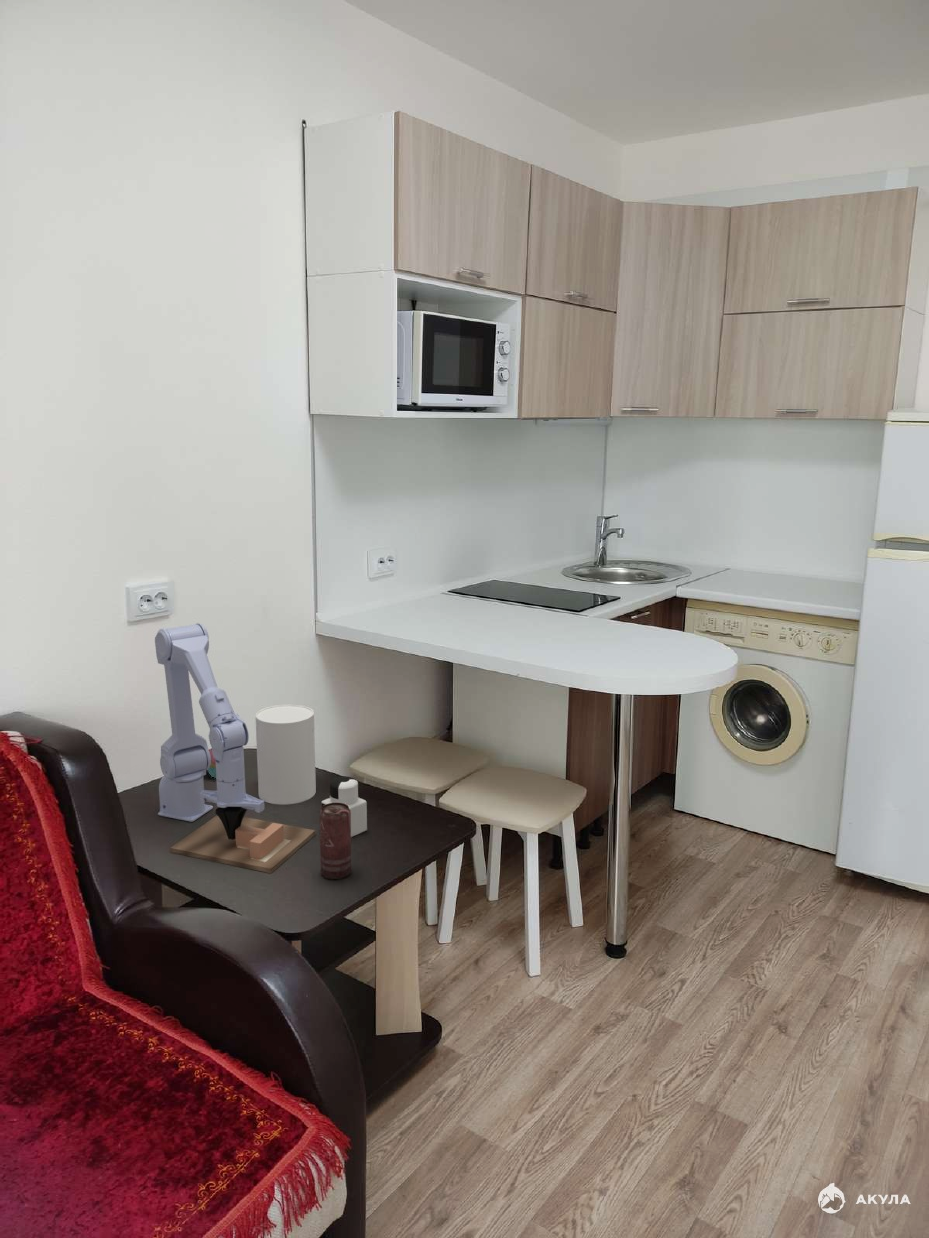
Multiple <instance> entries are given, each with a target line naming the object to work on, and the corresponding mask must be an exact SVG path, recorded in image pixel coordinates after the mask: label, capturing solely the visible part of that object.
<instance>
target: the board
mask: <svg viewBox="0 0 929 1238" xmlns="http://www.w3.org/2000/svg"><path fill="white" fill-rule="evenodd" d="M272 823H276V824H280V823H278V822H274V821H273V822H272V821H269V820H268V821H267V820H262V819H257V818H252V817H246V816H244V817H243V820H242V823H241V825H245V826H250V827H255V828H260V829H266V828H267V827H268V826H270V825H271V824H272ZM281 824H282V825H283V829H284V840H283V841H282V842H281V843H280V844H279V845H277V846H276V847H275V848H274V849H273V850H271V851H270V852H269V853H268V854H267V855H265V856H264V857H263V858H262V859H257V858H252V857H250V848H246V847H241V846H236V838H235V839H234V840H231V839H228V836H227V833H226V830H225V828H224V825H223V823H222V821H221V820H220V818H219V817H218V815H217V814H216V815H215V816H214V817H213V818H211V819H209V820H208V821H207V822H205V823H204V824H203V825H201V826H199V827H198V828H197V829H195V830H193V831H192V832H191V833H189V834H188V835H187V836H185V837H184V838H182V839H181V840H179V841H178V842H176V843H175V844H173V845H172V846H170V847H169V849H170V853H173V854H177V855H182V856H187V857H191V858H197V859H201V860H206V861H210V862H214V863H215V862H216V863H221V864H224V865H225V864H226V865H229V866H235V867H239V868H245V869H249V870H252V871H258V872H263V873H268V874H272V873H273V872H274V871H276V870H277V869H278V868H279V867H280V866H281V865H283V863H285V862H286V861H287V860H288V859H289V858H290V857H292V856H293V855H294V854H295V853H296V852H297V851H299V850H300V849H302V847H303V846H304V845H306V843H309V841H310V840H311V839H313V837H315V836H316V829H309V828H305V827H301V826H295V825H289V824H283V823H281Z"/></svg>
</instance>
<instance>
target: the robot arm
mask: <svg viewBox="0 0 929 1238" xmlns="http://www.w3.org/2000/svg"><path fill="white" fill-rule="evenodd" d="M154 645H155V653H156V659H157V660H156V661H157V664H159V665H164V666H163V667H164V674H165V682H166V691H167V692H166V693H167V701H168V702H167V703H168V709H169V717H170V728H171V736H170V737H168V739H166V740H165V742H163V743H162V744H161V746H160V758H159V759H160V760H159V766H160V769H161V773H162V774H163V776H162V777H161V779H160V780H159V785H158V796H159V797H158V798H159V812H158V813H157V815H158V816H160V817H166V818H170V819H171V818H172V819H176V820H179V821H181V820H182V821H185V822H190V823H192V822H195V821H197V819H199V818H201V817H202V816H203V815H205V814H206V813H208V812H210V811H211V810H213V808H214V806H213V805H211V804H206V802H208V803H213V804H216V807H217V808H215V810H214V811H215V814H216V816H217V815H218V817H219V818H220V820H221V821H222V823H223V825H224V828H225V830H226V833H227V836H228V839H231V840H234V839H235V838H236V835H235V830H236V829H237V828H239V827H240V826H241V823H242V820H243V817H245V815H246V813H247V811H248V810H250V811H255V813H261V812H262V811H264V810H265V801H264V800H262V799H260V798H257V797H255V796H252V795H250V794H248V793H247V792H246V777H245V776H246V772H245V752H244V751H245V750H244V749H245V747H244V746H247V744H248V743H249V738H250V737H249V729H248V727H247V725H246V724H247V723H246V722H245V720H243V719H242V718H241V717H240V715H239V714H238V713H237V714H236V713H235V711H234V709H233V706H232V704H231V701H230V700H229V697H228V695H227V692H226V691H225V690H224V689H221V688H218V685H217V682H216V679H215V676H214V673H213V669H212V666H211V663H210V660H209V657H208V652H209V649H210V639H209V632H208V630H207V628H206V627H205V626H204V624H203V623H200V622H197V623H195V624H189V625H183V626H178V627H171V628H170V627H169V628H160V629H159V630H158V631H157V633H156V635H155V637H154ZM189 674H190V675H191V678H192V679H193V682H194V683H195V685H196V687H197V689H198V691H199V693H200V697H199V699H198V704H199V706H200V709H201V712H202V714H203V715H204V718H205V721H206V723H207V726H208V728H209V732H208V741H209V744H210V747H211V748H212V755H213V757H214V758H215V761H216V779H215V781H216V790H209V789H205V786H204V784H205V782H204V776H206V775H207V771H208V769H209V767H210V764H211V756H210V752H209V745H208V742H207V739H206V738H205V737H203V736H202V735H200V734H197V732H196V728H195V720H194V718H195V717H194V709H193V699H192V693H191V682H190V675H189Z"/></svg>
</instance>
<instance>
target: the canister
mask: <svg viewBox="0 0 929 1238" xmlns="http://www.w3.org/2000/svg"><path fill="white" fill-rule="evenodd" d="M255 733H256V734H255V735H256V736H255V737H256V738H255V739H256V761H257V762H256V763H257V764H256V765H257V783H258V784H257V787H258V790H257V791H258V797H259V799H260V800H264V803H269V804H272V805H282V806H283V805H294V804H299V803H303V802H305V801H306V802H307V801H308V800H310V799H312V798H313V797H314V796H315V794H316V792H317V790H316V789H317V788H316V787H317V785H316V782H317V781H316V779H317V777H316V748H315V747H316V746H315V745H316V744H315V743H316V742H315V740H316V739H315V736H316V735H315V710H314V709H313V708H311V707H309V706H307V705H301V704H293V703H292V704H291V703H290V704H289V703H288V704H276V705H270V706H266V707H264V708H260V710H258V711H257V712H256V713H255Z"/></svg>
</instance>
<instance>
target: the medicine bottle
mask: <svg viewBox="0 0 929 1238" xmlns="http://www.w3.org/2000/svg"><path fill="white" fill-rule="evenodd" d="M329 803H343V804H346V805H348V807H349V809H350V811H351V838H352V837H354V836H358V835H359V834H362V833H364V832H366V831H368V817H367V816H368V814H367V813H368V810H367V809H368V808H367V806H368V805H367V804H368V803H367V801H366V800H365V799H363V798H360V797H359V782H358V780H357V779H356V778H354V777H351V776H347V775H346V776H345V775H344V776H336V777H335V778H333V779H331V780H330V782H329V798H325V799H324V800H322V801H321V807H322V806H324V805H326V804H329Z"/></svg>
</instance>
